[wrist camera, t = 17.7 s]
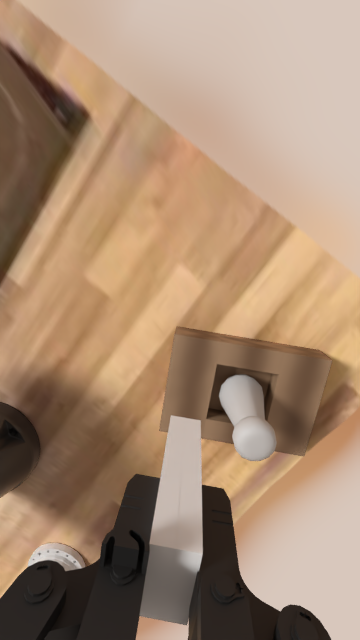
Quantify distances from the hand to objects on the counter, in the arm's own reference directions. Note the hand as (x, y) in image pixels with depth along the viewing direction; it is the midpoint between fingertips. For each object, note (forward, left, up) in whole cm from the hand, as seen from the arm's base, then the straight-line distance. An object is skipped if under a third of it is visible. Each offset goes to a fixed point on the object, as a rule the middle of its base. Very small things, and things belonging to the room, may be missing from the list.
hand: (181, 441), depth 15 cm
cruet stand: (+8, -8, -26) cm, 29 cm away
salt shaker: (+8, -8, -26) cm, 28 cm away
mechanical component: (-16, -48, -27) cm, 57 cm away
